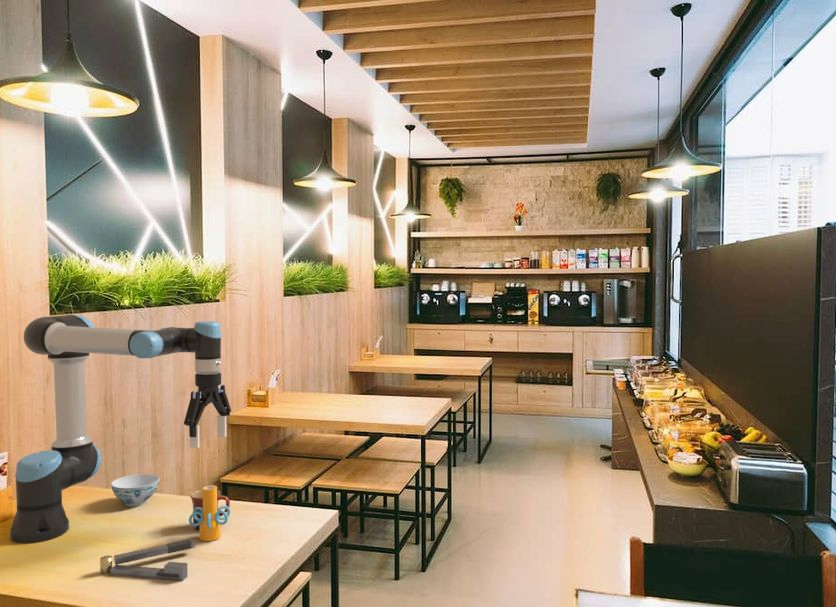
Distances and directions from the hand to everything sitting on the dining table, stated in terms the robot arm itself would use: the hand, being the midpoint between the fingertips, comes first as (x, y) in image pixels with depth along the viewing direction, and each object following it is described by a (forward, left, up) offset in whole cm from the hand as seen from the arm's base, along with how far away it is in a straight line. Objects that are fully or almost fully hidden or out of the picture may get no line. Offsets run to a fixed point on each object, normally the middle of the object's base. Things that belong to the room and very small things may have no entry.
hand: (208, 442), depth 191 cm
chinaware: (-36, +17, -27) cm, 48 cm away
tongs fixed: (-2, -31, -27) cm, 41 cm away
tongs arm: (-4, -23, -25) cm, 34 cm away
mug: (-1, +2, -27) cm, 27 cm away
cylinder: (+3, -6, -27) cm, 28 cm away
